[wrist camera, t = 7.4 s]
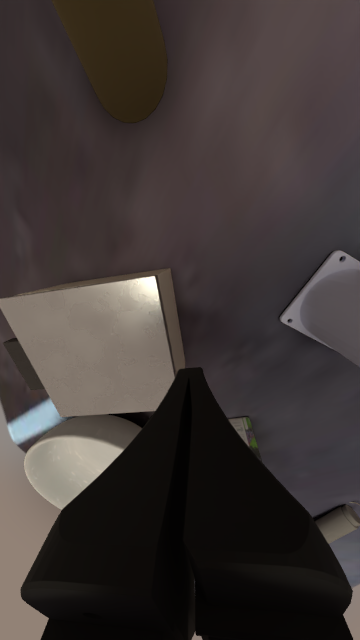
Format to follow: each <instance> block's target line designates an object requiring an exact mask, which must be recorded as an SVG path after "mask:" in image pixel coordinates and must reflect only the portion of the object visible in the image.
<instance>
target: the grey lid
mask: <svg viewBox="0 0 360 640" xmlns="http://www.w3.org/2000/svg"><path fill="white" fill-rule="evenodd" d="M0 308H1V310H2V312H3V314H4V315H5V317H6V319H7V321H8V323H9V324H10V326H11V328H12V330H13V332H14V333H15V335H16V337H17V338H12V339H10V340H8V341H6V342H4V343H3V344H4V346H5V347H6V349H7V351H8V352H9V354H10V356H11V357H12V359H13V361H14V362H15V364H16V366H17V368H18V369H19V371H20V373H21V374H22V376H23V378H24V379H25V381H26V383H27V384H28V386H29V388H30V389H31V390H37V389H46V391H47V393H48V395H49V396H50V398H51V400H52V402H53V404H54V405H55V407H56V409H57V411H58V413H59V414H60V416H61V417H69V416H84V415H100V414H115V413H131V412H146V411H156V409H157V408H158V406H159V405H160V403H161V402H162V400H163V398H164V397H165V395H166V393H167V392H168V390H169V388H170V386H171V384H172V383H173V381H174V379H175V377H176V370H175V364H174V359H173V354H172V348H171V343H170V338H169V333H168V327H167V322H166V317H165V311H164V306H163V301H162V295H161V290H160V285H159V280H158V275H151V276H144V277H138V278H131V279H124V280H117V281H111V282H104V283H97V284H90V285H84V286H77V287H70V288H63V289H57V290H50V291H43V292H36V293H30V294H23V295H16V296H9V297H5V298H1V299H0Z"/></svg>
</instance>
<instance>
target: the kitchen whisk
mask: <svg viewBox="0 0 360 640" xmlns="http://www.w3.org/2000/svg"><path fill="white" fill-rule="evenodd" d="M350 503H356V502H350ZM356 504H358V503H356ZM358 505H360V504H358ZM315 523H316V524H317V526H318V528H319V529H320V531H321V532H322V534H323V536H324V537H325V539H326V541H327V542H328V544H329V543H331V542H333V541H334V540H336V539H338V538H340V537H342V536H344V535H346V534H348V533H350V532H352V531H354V530H355V529H357V528H358V526H360V518H359V517H358V515H357V514H356V513H355V511H354V510H353V509H352V508H351V507H350V506H348V505H344V506H343V507H342V506H340V507H338V508H337V509H335V510H333V511H331V512H330V513H328V514H326V515H325V516H323V517H321V518H320V519H318V520H316V521H315Z"/></svg>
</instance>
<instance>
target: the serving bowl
mask: <svg viewBox="0 0 360 640" xmlns="http://www.w3.org/2000/svg"><path fill="white" fill-rule="evenodd" d="M141 430H142V428H141V427H139V426H138V425H136V424H135V423H133V422H131V421H128V420H126V419H123V418H120V417H117V416H112V415H106V414H100V415H84V416H78V417H75V418H72V419H69V420H67V421H64V422H62V423H61V424H59V425H57V426H56V427H54V428H53V429H51V430H50V431H49V432H47V433H46V434H45V435H44V436H42V437H41V438H40V439H39V440H38V441H37V442H36V443H35V444H34V445H33V446H32V447H31V448H30V449H29V450H28V452H27V454H26V456H25V460H24V469H25V473H26V475H27V478H28V480H29V481H30V483H31V484H32V486H33V487H34V488H35V490H37V491H38V493H39V494H41V495H42V496H43V497H44V498H45V499H47V500H48V501H49V502H51V503H52V504H53V505H55V506H56V507H58V508H60V509H61V510H62V509H63V508H64V507H65V506H66V505H67V504H69V503H70V502H71V501H72V500H73V499H74V498H75V497H76V496H77V495H79V494H80V493H81V492H82V491H83V490H84V489H85V488H86V487H87V486H88V485H89V484H91V483H92V482H93V481H94V480H95V479H96V478H97V477H98V476H99V475H100V474H101V473H102V472H103V471H104V470H105V469H106V468H107V467H108V466H109V465H110V464H111V463H112V462H113V461H114V460H115V459H116V458H117V457H118V456H119V455H120V454H121V453H122V452H123V450H124V449H125V448H126V447H127V446H128V445H129V444H130V443H131V442H132V440H133V439H134V438H135V437H136V436H137V434H138V433H139V432H140V431H141Z"/></svg>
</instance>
